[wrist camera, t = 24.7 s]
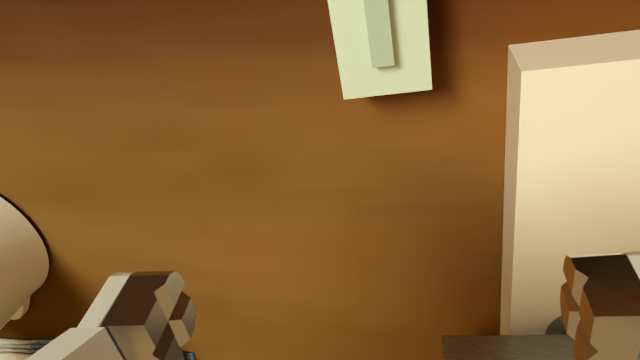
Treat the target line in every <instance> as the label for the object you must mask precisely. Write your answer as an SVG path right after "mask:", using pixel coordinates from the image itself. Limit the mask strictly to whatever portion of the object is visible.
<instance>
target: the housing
mask: <svg viewBox="0 0 640 360" xmlns="http://www.w3.org/2000/svg"><path fill="white" fill-rule="evenodd" d="M635 251H640V30H633V31H625V32H616V33H608V34H599V35H591V36H582V37H573V38H565V39H556V40H548V41H539V42H531V43H522V44H514V45H508V72H507V106H506V141H505V175H504V210H503V244H502V278H501V313H500V335H562V334H563V333H564V332H565V331H566V330H565V327H564V324H563V320H562V315H561V306H560V292H561V286H562V285H563V284H564V283H565V282H566V281H567V280H566V277H565V275H564V272H563V265H564V260H565V257H566V255H580V254H601V253H622V252H635Z"/></svg>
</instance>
